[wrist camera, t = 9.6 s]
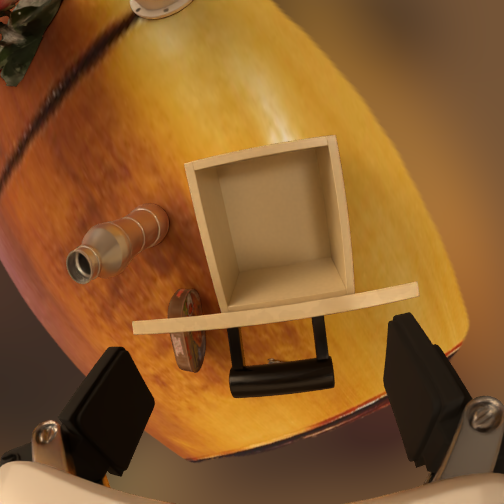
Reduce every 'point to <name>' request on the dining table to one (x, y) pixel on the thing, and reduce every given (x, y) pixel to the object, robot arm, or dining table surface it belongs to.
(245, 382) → the bin lid
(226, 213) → the bin
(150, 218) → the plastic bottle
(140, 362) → the dining table surface
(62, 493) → the robot arm
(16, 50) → the rose bouquet
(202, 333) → the tin
